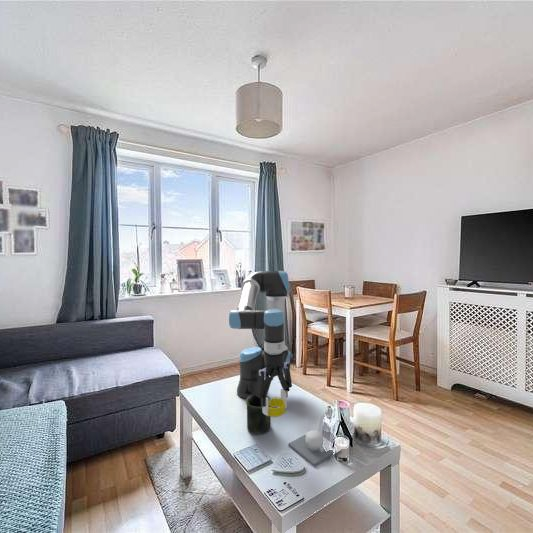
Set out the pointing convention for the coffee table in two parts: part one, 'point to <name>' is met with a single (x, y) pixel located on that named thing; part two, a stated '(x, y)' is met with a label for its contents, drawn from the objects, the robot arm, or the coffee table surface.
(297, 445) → the plate
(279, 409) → the bracelet
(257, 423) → the mug
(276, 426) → the coffee table surface
